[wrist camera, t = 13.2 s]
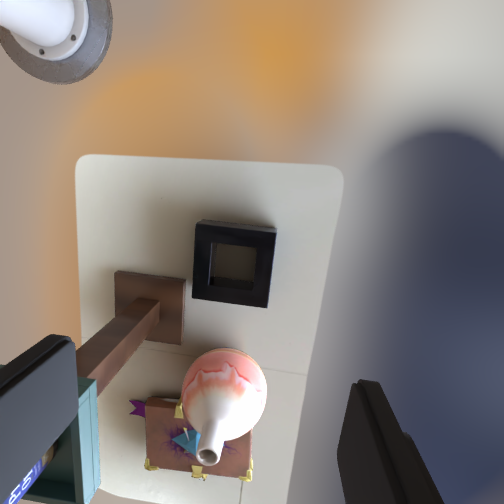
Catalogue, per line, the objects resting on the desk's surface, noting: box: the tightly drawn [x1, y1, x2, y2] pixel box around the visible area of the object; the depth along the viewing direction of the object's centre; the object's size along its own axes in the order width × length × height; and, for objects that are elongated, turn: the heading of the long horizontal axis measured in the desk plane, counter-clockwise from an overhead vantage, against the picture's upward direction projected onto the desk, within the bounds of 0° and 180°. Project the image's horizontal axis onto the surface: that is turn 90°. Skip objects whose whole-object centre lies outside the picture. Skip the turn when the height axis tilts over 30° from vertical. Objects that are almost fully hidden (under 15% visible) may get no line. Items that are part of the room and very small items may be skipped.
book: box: [129, 395, 253, 482], centre depth 56 cm, size 16×25×5 cm, turn 88°
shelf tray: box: [0, 365, 100, 504], centre depth 27 cm, size 12×12×2 cm
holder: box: [192, 219, 277, 308], centre depth 47 cm, size 12×12×4 cm
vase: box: [182, 348, 267, 466], centre depth 46 cm, size 14×14×18 cm
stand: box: [76, 271, 186, 397], centre depth 40 cm, size 12×12×26 cm
